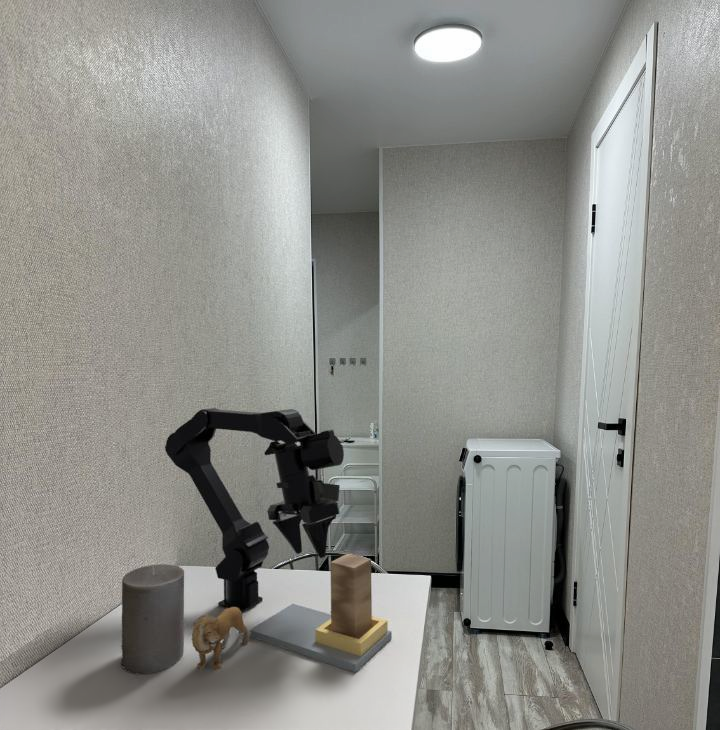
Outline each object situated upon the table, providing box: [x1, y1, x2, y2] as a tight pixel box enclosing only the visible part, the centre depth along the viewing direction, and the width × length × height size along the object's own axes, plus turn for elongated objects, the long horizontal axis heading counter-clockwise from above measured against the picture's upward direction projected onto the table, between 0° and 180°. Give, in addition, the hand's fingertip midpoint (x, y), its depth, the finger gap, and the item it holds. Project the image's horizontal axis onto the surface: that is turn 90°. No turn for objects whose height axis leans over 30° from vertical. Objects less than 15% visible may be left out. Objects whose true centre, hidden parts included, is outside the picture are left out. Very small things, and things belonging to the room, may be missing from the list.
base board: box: [249, 603, 393, 673], centre depth 92 cm, size 22×12×3 cm, turn 59°
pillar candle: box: [120, 563, 185, 675], centre depth 86 cm, size 10×10×15 cm
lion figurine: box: [191, 607, 249, 670], centre depth 86 cm, size 15×5×9 cm, turn 169°
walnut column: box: [330, 553, 373, 639], centre depth 90 cm, size 5×5×13 cm
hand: (310, 555), depth 99 cm, fingers open, 9 cm apart
